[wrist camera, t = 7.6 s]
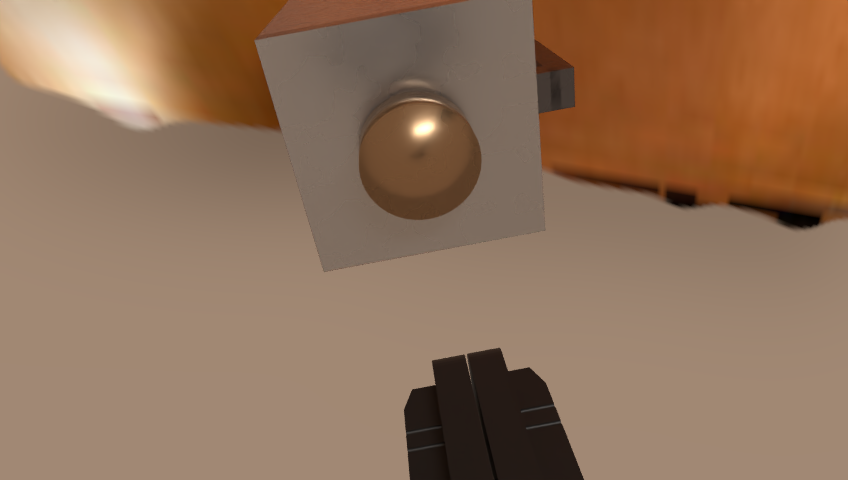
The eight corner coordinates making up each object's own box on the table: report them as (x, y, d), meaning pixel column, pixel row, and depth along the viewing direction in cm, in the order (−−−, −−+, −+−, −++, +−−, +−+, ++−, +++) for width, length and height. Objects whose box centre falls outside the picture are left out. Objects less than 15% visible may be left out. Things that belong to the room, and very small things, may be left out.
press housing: (499, -51, 39) (604, -25, 22) (512, 104, 45) (603, 219, 28) (300, -14, 39) (254, 40, 22) (338, 136, 45) (324, 271, 28)
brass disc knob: (444, -17, 38) (514, 39, 21) (460, 103, 43) (529, 234, 25) (322, 5, 38) (290, 81, 21) (350, 124, 43) (342, 269, 25)
